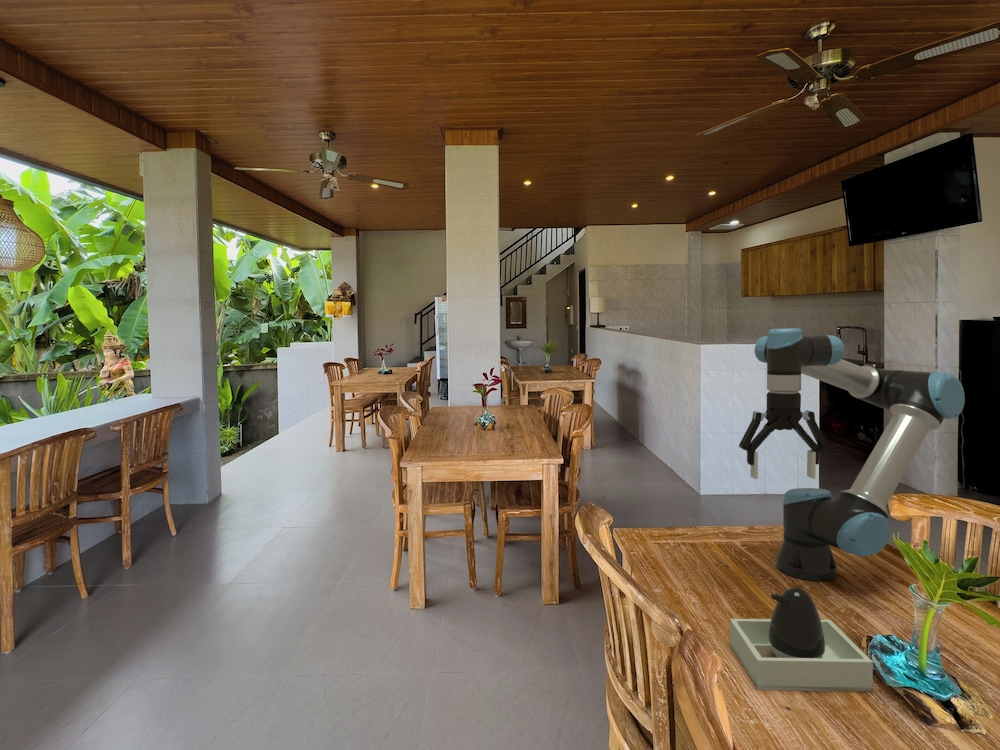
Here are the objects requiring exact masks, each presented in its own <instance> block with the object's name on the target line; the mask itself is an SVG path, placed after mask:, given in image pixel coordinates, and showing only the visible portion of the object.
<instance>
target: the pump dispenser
mask: <svg viewBox="0 0 1000 750" xmlns="http://www.w3.org/2000/svg"><path fill="white" fill-rule="evenodd" d="M770 597H771V600H774V601H775V602H776V604H775V607H774V609H773V612H772V614H771V618H770V619H771V622H770V627H769V636H768V638H769V642H770V644H771V647H772V650H773V652H774V654H775V655H776V656H777V658H822V655H823V654H824V653H825V639H824V632H823V627H822V623H821V620H822V619H821V617H820V612H819V611H818V609H817V606H816V604H815V602H814V600H813V598H812V596H811V595H810V593H808V592H807V591H806V590H804V589H803V588H799V587H795V586H794V587H789V588H787V589H785V590H784V591H783V592H782V593H781V595H780V594H776V593H772V594H771V595H770Z"/></svg>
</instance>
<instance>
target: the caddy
mask: <svg viewBox="0 0 1000 750" xmlns="http://www.w3.org/2000/svg"><path fill="white" fill-rule="evenodd" d="M770 622H771V618H729V646H730V647H731V649H732V651H733V653H734V654H735V656H736V658H737V660H738V661H739V662H740V664H741V665H742V667H743V668H744V670H745V672H746V673H747V675H748V677H749V679H750V680H751V682H752V683H753V685H754V687H755V689H756V690H757V691H804V692H805V691H806V692H808V691H809V692H811V691H812V692H814V691H815V692H816V691H817V692H856V693H857V692H862V693H863V692H865V693H866V692H868V693H869V692H872V693H873V685H874V683H873V681H874V680H873V678H874V677H873V676H874V661H873V660H872V659H870V657H868V655H866V653H864V651H862V650H861V649H860V648H859V646H858V645H856V644H855V642H854V641H852V640H851V638H849V636H847V634H845V633H844V632H843V631H842V630H841V629H840V628H839V627H838V626H837V625H836V624H835V623H834V622H833V621H832V620H831V619H821V623H822V627H823V632H824V639H825V653H824V654H823V655H822V658H777V656H776V655H775V654H774V652H773V650H772V647H771V644H770V642H769V638H768V636H769V627H770Z"/></svg>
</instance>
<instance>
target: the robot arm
mask: <svg viewBox="0 0 1000 750" xmlns="http://www.w3.org/2000/svg"><path fill="white" fill-rule="evenodd" d="M802 333H803V330H802V329H801V328H799V327H796V328H794V327H793V328H792V327H789V328H788V327H787V328H771V329H770V330H769V331H768V333H767V335H765V336H762V337H760V338H759V339H758V340H757V341H756V343H755V346H754V355H755V358H757V360H758V361H759V362H761V363H764V364H766V390H768V392H767V393H766V410H765V412H762V411H758V410H754V411H752V416H751V421H750V423H749V425H748V426H747V428H746V431H745V432H744V434H743V437H742V438H741V440H740V442H739V445H738V448H740V449H741V450H745V451H746V462H747V464H748V465H749V466H750V477H751V478H752V479H754V480H759V452H757V451H756V450H757V449H758V448H759V447H760V446H761V445H762V444H763V442H764V441H766V439H767V438H768V437H769V436H770V434H772V433H773V432H774V431H775V430H777V431H783V430H786V431H792V430H793V431H795V432H796V433H797V434H798V436H799V437H800V438H801V439H802V440H803V442H804V443H805V444H806V445H807V446H808V448H810V449H807V450H806V451H807V452H806V455H807V457H806V458H807V459H806V461H807V462H806V464H807V465H806V476H807V477H808V478H810V479H812V480H813V479H814V480H816V469H817V468H816V466H817V465H819V464H820V453H821V452H822V451H823V450H827V449H828V448H829V445H828V443H827V441H826V439H825V437H824V435H823V433H822V431H821V429H820V427H819V425H818V423H817V421H816V416H815V412H814V411H811V410H805V411H801V405H802V394H801V393H800V392H801V390H802V375H805V376H808V377H811V378H813V379H816V380H819V381H821V382H823V383H826V384H829V385H831V386H834V387H837V388H839V389H843V390H845V391H847V392H848V393H849V394H850V396H852V397H854V398H855V399H858V400H861V401H864V402H866V403H868V404H870V405H874V406H877V407H878V408H882V409H883V410H888V411H890V412H891V414H892V417H891V419H890V421H889V422H888V424H887V425H886V427H885V429H884V430H883V432H882V434H881V435H880V437H879V439H878V440H877V442H876V444H875V445H874V448H873V450H872V451H871V453H870V454H869V456H868V458H867V459H866V461H865V463H864V465H863V466H862V467H861V470H860V472H858V475H857V476H856V478H855V480H854V482H853V484H852V485H851V487H850V489H844V490H841V491H840V492H839V494H838V495H837V498H836V499H832V498H833V496H832V493H831V491H830V490H828V489H825V488H824V489H823V488H817V487H814V488H813V487H799V488H797V487H796V488H791V489H788V490H786V492H785V493H784V497H783V502H782V506H783V508H782V510H783V519H782V521H783V522H782V523H783V538H782V539H783V540H782V543H781V546H780V548H779V551H778V553H777V556H776V568H777V570H779V571H780V572H782V573H783V574H785V575H787V576H789V577H793V578H796V579H800V580H804V581H814V582H815V581H816V582H817V581H818V582H820V581H821V582H823V581H825V582H826V581H831V580H833V579H835V578H837V575H838V565H837V562H836V560H835V557H834V555H833V554H834V553H833V551H832V548H831V546H832V547H833V548H836V549H839V550H840V551H842V552H844V553H846V554H850V555H855V556H858V557H861V558H862V557H863V558H865V557H870V556H874V555H876V554H878V553H879V552H881V551H882V550H883V548H885V546H886V545H887V543H888V542H889V539H890V536H891V533H890V531H891V524H890V522H889V520H888V518H889V513H888V510H887V507H886V506H887V505H888V503H889V501H890V499H891V498H892V496H893V494H894V492H895V491H896V490H897V487H898V486H899V483H900V482H901V480H902V478H903V477H904V476H905V473H906V472H907V470H908V468H909V467H910V465H911V464H912V463H911V462H912V461H913V460H914V457H915V456H916V454H917V452H918V451H919V449H920V448H921V446H922V444H923V442H924V440H925V439H926V437H927V434H929V432H930V431H934V430H938V429H939V428H940V426H941V425H942V423H943V421H944V420H945V419H946V420H949V419H950V420H951V419H954V418H957V417H958V416H960V415H961V413H962V411H963V410H964V407H965V403H966V400H965V399H966V398H965V395H966V394H965V391H964V387H963V384H962V383H961V381H960V380H959V379H958V378H957V377H956V376H955V375H953V374H950V373H945V372H939V371H932V372H931V371H930V372H929V371H918V370H917V371H916V370H915V371H913V370H899V369H882V368H876V367H873V366H870V365H862V366H861V365H858V364H857V363H853V362H850V361H847V360H845V359H843V357H844V355H845V346H844V344H843V341H842V340H841V338H839V337H838V336H836V335H832V334H831V335H830V334H829V335H828V334H820V335H819V334H818V335H817V334H816V335H803V334H802ZM802 418H803V420H804V421H805V422H806V424H807V426H808V427H809V430H810V432H811V434H812V436H813V438H814V439H813V438H812V437H811V436H810V435H809V434H808V432H807V431H806V430H805V429H804V427H803V426H802V425H801V424H800V423H799V422H800V420H802ZM764 419H765V420H766V421H767V422H766V423H765V424H764V425H763V428H762V429H761V430H760V431H759V432H758V433H757V430H758V428H759V427H760V424H761V422H762V421H764ZM756 433H757V434H756ZM755 435H756V436H755ZM754 436H755V437H754ZM814 440H815V441H816V442H815V441H814Z"/></svg>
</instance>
